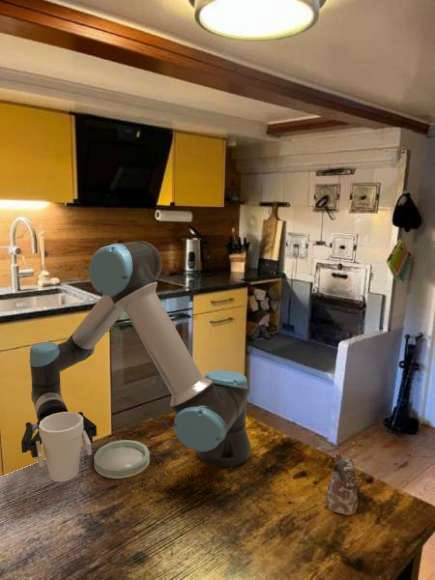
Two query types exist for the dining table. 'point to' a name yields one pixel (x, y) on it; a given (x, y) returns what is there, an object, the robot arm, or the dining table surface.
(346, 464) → the figurine
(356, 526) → the dining table surface
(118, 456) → the ceramic saucer
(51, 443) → the foam cup
